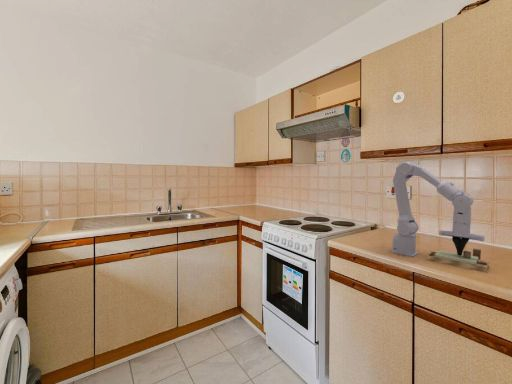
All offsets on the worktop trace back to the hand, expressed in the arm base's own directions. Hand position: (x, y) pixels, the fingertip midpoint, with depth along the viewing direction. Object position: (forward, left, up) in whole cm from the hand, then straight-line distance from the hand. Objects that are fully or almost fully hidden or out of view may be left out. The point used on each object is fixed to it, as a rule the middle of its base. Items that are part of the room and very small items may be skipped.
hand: (459, 254), depth 105 cm
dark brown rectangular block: (+5, +8, -4) cm, 10 cm away
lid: (-1, 0, -2) cm, 2 cm away
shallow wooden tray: (-1, 0, -4) cm, 4 cm away
